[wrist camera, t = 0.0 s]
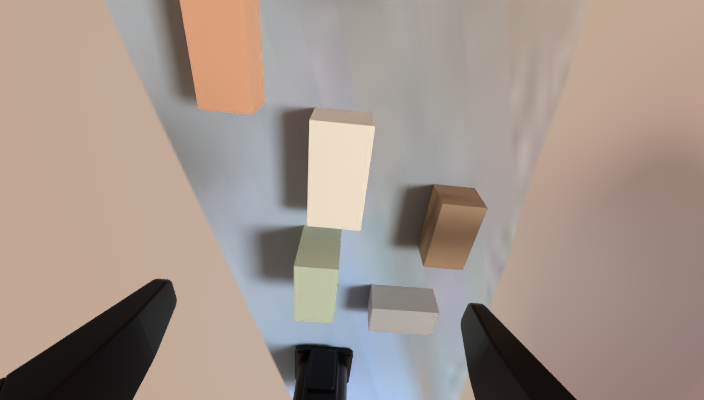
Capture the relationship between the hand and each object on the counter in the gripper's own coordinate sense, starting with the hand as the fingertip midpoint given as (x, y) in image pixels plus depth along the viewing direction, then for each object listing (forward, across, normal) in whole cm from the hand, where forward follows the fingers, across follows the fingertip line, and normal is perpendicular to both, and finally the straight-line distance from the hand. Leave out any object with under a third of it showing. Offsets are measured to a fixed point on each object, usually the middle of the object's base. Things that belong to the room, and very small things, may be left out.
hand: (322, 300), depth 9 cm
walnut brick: (+15, -9, +6) cm, 19 cm away
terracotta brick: (+15, +7, -5) cm, 17 cm away
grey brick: (+15, -7, +16) cm, 23 cm away
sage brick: (+15, +1, +11) cm, 19 cm away
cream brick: (+15, 0, +2) cm, 15 cm away
